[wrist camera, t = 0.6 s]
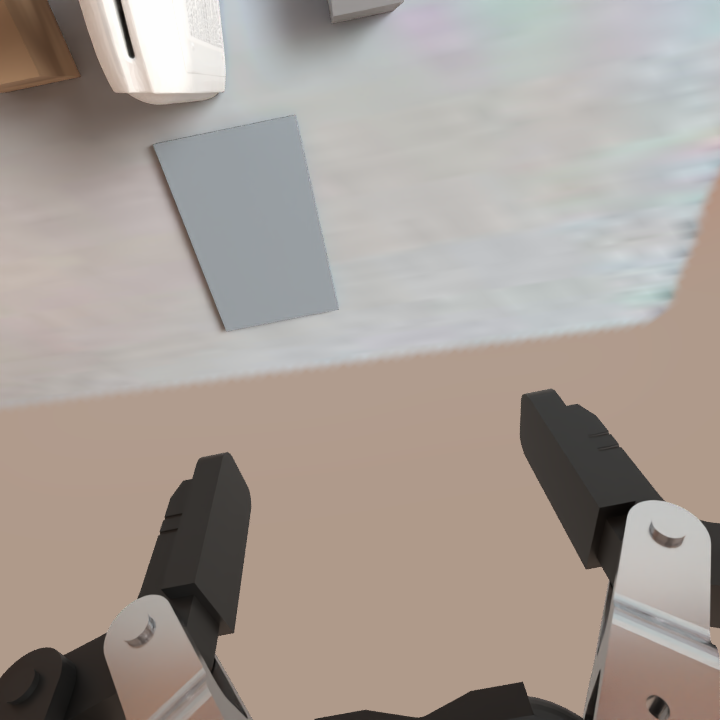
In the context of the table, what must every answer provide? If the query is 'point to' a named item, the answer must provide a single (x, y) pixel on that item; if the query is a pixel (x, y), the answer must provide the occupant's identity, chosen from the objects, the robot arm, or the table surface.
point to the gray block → (359, 8)
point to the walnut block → (32, 46)
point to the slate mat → (252, 221)
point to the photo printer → (159, 47)
